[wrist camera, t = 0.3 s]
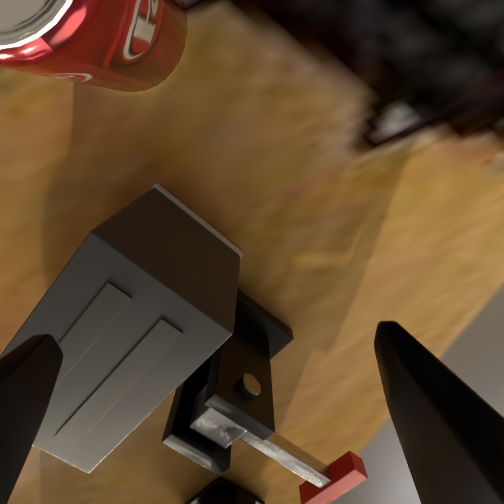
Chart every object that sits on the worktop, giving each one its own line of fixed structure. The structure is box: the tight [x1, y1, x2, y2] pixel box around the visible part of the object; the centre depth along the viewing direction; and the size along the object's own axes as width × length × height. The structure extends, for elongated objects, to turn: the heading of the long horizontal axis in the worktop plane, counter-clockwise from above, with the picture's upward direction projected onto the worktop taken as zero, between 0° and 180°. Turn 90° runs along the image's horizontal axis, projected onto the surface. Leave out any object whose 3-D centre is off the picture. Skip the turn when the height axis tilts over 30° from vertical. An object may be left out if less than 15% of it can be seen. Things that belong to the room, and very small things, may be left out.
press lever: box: [189, 385, 368, 504], centre depth 22 cm, size 12×5×2 cm, turn 49°
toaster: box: [0, 183, 243, 473], centre depth 21 cm, size 13×8×10 cm, turn 139°
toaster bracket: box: [161, 289, 294, 476], centre depth 23 cm, size 7×8×9 cm
